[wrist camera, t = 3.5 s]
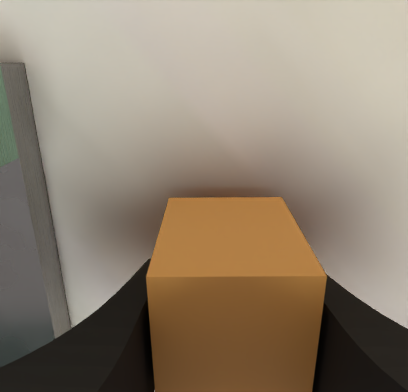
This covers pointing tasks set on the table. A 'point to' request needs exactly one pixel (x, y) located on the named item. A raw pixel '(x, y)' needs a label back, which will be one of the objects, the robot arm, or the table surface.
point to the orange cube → (233, 298)
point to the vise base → (25, 230)
